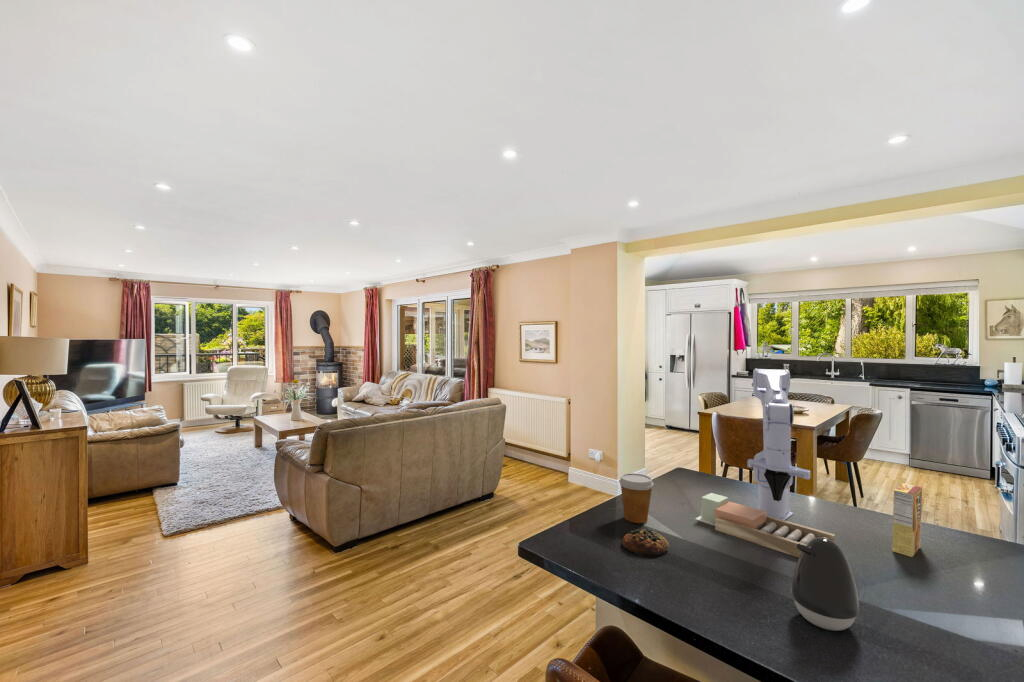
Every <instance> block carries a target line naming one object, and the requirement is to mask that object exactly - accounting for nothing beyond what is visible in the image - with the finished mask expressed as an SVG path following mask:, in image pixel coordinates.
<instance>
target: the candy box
mask: <svg viewBox="0 0 1024 682" xmlns="http://www.w3.org/2000/svg"><path fill="white" fill-rule="evenodd" d="M922 492H923V487H922V486H918V485H914V484H913V485H912V484H909V483H908V484H907V483H904V482H903V483H900V484H899V486H897V487H896V488H894V489H893V508H892V509H893V513H892V515H893V516H892V542H891V544H892V545H891V546H892V547H891V549H892V551H891V552H893V553H896V554H901V555H903V556H907V557H909V558H913V557H914V556H915V555H916V553H917V552H918V551H919V550H920V548H921V528H922V506H923V505H922V502H923V500H922V499H923V496H922V494H923V493H922ZM918 549H919V550H918Z"/></svg>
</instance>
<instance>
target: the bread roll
mask: <svg viewBox="0 0 1024 682" xmlns="http://www.w3.org/2000/svg"><path fill="white" fill-rule="evenodd" d="M621 543H622V545H623V547H624V548H625V549H626V550H628V551H629V552H632V553H633V552H634V554H635V553H637V554H636V555H638V554H639V555H638V556H642V555H644V557H646V556H648V557H647V558H654V557H657V556H662V555H664V554H666V551H668V550H669V548H670V543H669V541H668V540H667V539H666V538H665V537H664V536H662V534H660V533H658V532H656V531H652V530H650V529H648V528H647V529H645V528H644V529H641V528H640V529H638V528H637V529H636V528H635V529H634V530H631V531H629V532H628V533H626V534H625V535H624V537H623V538H622V542H621Z"/></svg>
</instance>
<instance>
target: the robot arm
mask: <svg viewBox="0 0 1024 682" xmlns="http://www.w3.org/2000/svg"><path fill="white" fill-rule="evenodd" d="M752 385H753V387H752V388H753V394H754V397H755V398H757V399H758V400H760V402H761V407H762V425H763V426H762V429H763V431H762V433H763V434H762V435H763V436H762V437H763V450H762V451H760V452H757V453H756V454H755V455H754V456H753V459H752V458H749V459H747V467H748V468H752V473H753V476H752V477H753V481H754V482H755V483H757V487H758V488H757V489H758V492H757V493H758V494H757V509H759V510H762V511H766V512H767V516H770V517H774V518H777V519H781V520H785V521H787V519H788V518H791V516H793V514H794V512H791V511H790V490H789V487H790V486H792V485H793V481H794V479H793V477H797V478H802V479H803V480H810V479H811V476H812V475H811V470H809V469H804V468H801V467H798V466H793V465H792V461H791V458H792V457H791V456H792V455H791V451H792V450H791V449H792V442H791V441H792V427H793V425H794V418H795V412H794V406H793V403H791V402H789V399H788V395H789V391H790V386H791V373H790V371H789V369H772V368H771V369H768V368H756V367H755V368H754V369H753V372H752Z"/></svg>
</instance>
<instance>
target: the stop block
mask: <svg viewBox="0 0 1024 682" xmlns="http://www.w3.org/2000/svg"><path fill="white" fill-rule="evenodd" d="M727 502H729V497H728V496H725V495H720V494H717V493H712V492H710V493H707V494H705V495H703V496H701V504H700V507H701V509H700V510H701V512H700V516H701V518H702V519H705V520H709V521H712V522H715V509H716V508H718V507H720V506H722V505H724V504H725V503H727Z"/></svg>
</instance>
